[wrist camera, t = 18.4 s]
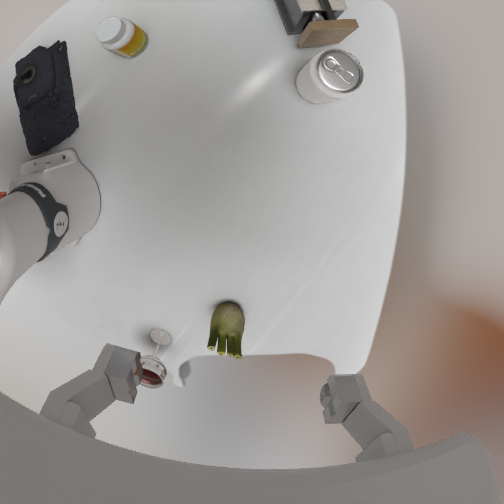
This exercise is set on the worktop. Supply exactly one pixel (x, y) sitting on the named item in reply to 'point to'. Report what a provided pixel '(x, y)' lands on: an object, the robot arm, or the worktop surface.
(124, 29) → the supplement bottle
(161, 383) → the wineglass
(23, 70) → the dark folded fabric
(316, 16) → the gauge plunger
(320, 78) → the can
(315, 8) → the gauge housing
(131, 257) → the worktop surface
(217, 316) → the fennel bulb
